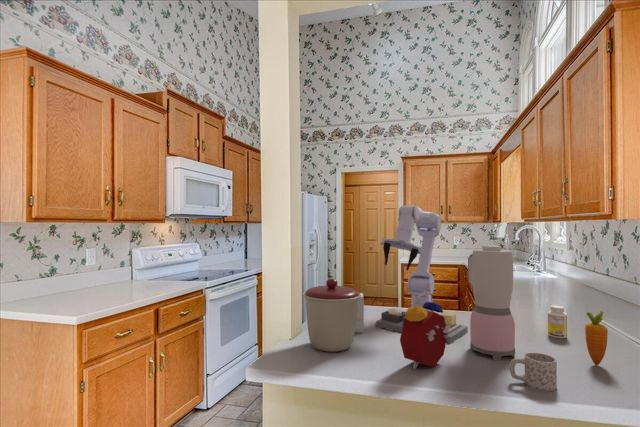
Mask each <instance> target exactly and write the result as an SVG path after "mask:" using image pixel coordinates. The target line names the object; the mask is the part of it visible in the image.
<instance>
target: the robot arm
mask: <svg viewBox="0 0 640 427" xmlns="http://www.w3.org/2000/svg"><path fill="white" fill-rule="evenodd" d="M397 217H398V218H397V221H398V223H397V228H396V232H395V236H394V238H385V237H382V238H381V242H380V245H381V246H383V253H384V265H385V266H387V265H388V260H389V255H390V250H391V247H393V248H397V249H398V250H402V251H403V250H405V251H409V252H410V253H409V257H408V262H407V265H406V271H409V269H410V267H411V265H412V263H413V261H414V260H415V259H416V258H417V256H418V254H419V258H418V264H417V268H416V270H414V271H412V272H411V273H410V275H409V277H408V279H407V283H406V285H407V291H408V292H409V294H410V295H411V306H415V305H416V304H417V297H418V296H419V295H420V294H422V293H423V292H424V291H426V292H429V293H432V294H433V293H434V290H435V278H434V276H433V274H431V273H430V272H429V271H430V267H431V266H430V265H431V260H432V256H433V250H434V245H435V244H434V243H435V239H436V237H438V236H440V232H441V227H442V218H441V215H440V214H437V213H435V212H431V211H424V210H423V209H422V208H420V207H419V206H418V205H417V204H416V205H415V204H409V205H401V206H399V208H398V216H397ZM414 226H415V227H416V230H417V234H418V235H419V236H421V237H422V241H421V245H420V246H418V245H416V244H414V243H411V240H412V236H413V231H414ZM432 300H433V301H434V299H433V298H432ZM425 302H432V301H431V295H430V294H427V293H424V294H423V295H421V296H420V297H419V298H418V305H417V306H421V305H422V303H425ZM424 309H425V308H424ZM425 310H427V311H431V310H428V309H425Z"/></svg>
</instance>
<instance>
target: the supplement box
mask: <svg viewBox="0 0 640 427" xmlns="http://www.w3.org/2000/svg"><path fill="white" fill-rule="evenodd" d="M359 293H360V294H361V296H360V298H359V299H358V309H357V318H356V326H355V333H360V334H361V333H363V334H364V332H365V331H364V325H365V320H364V319H365V318H364V316H365V315H364V311H365V310H364V309H365V308H364V307H365V306H364V305H365V302H364V300H365V299H364V298H365V297H364V293H362V292H359Z"/></svg>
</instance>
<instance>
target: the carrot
mask: <svg viewBox="0 0 640 427" xmlns="http://www.w3.org/2000/svg"><path fill="white" fill-rule="evenodd" d="M585 313H586V314H585V315H587V317H588V318H589V320H590V321H591V322H587V323H586V324H585V326H584V327H585V328H584V330H585V331H584V333H585V342H586V343H585V344H586V348H587V352H588V354H589V356H590V357H589V358H590V359H591V361H592V363H593V364H594V365H595V366H596V367H597V366H598V365H600V364H601V362H602V361H603V359H604V357H605V355H606V351H607V347H608V332H609V331H608V328H607V327H606V326H605V325H604V324H602V323H600V322H602V320H604V318H603V315H604V314H605V313H604V311H603V310H600V311H599V313H596V315H595V316H594V315H593V313H592V312H590V311H586V312H585Z"/></svg>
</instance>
